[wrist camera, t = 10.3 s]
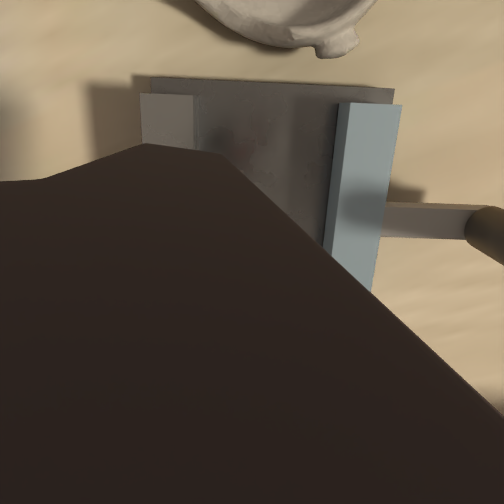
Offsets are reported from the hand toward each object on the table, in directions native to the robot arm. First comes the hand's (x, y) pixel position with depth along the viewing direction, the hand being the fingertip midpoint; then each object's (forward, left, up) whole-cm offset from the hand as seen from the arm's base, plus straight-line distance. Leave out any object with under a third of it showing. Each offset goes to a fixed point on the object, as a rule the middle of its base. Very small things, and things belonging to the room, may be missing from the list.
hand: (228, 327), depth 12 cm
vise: (0, -2, -18) cm, 18 cm away
